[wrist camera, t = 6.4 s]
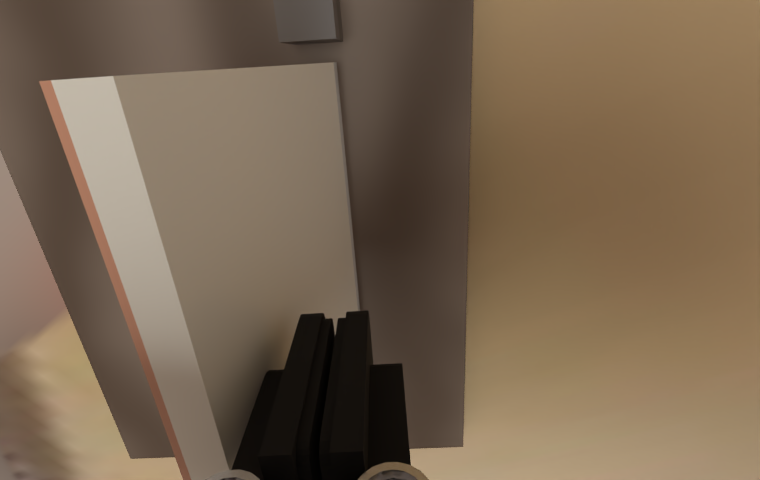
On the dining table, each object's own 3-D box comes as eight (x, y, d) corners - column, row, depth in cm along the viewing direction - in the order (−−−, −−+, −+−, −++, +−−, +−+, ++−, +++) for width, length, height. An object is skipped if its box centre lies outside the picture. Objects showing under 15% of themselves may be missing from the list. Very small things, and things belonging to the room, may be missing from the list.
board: (469, -87, 13) (493, -129, 10) (459, 430, 22) (471, 488, 19) (-54, -45, 14) (-175, -74, 11) (141, 442, 22) (104, 500, 19)
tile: (112, 76, 5) (38, 81, 6) (283, 654, 11) (242, 642, 11) (341, 61, 14) (307, 64, 14) (371, 393, 19) (346, 390, 19)
